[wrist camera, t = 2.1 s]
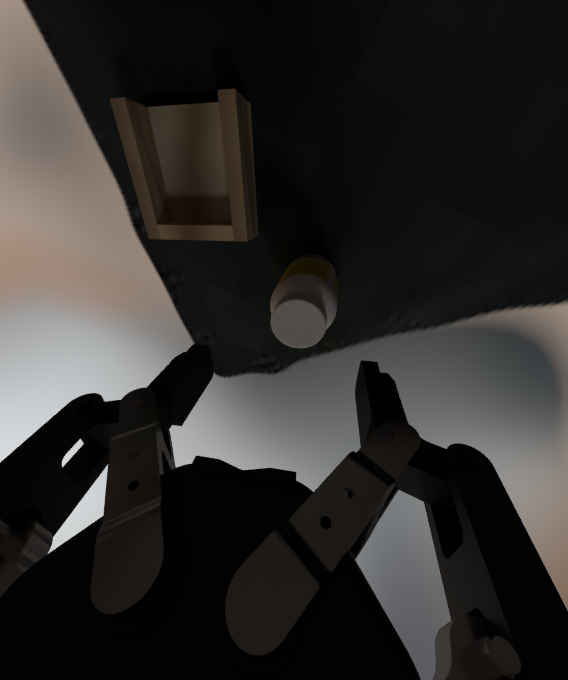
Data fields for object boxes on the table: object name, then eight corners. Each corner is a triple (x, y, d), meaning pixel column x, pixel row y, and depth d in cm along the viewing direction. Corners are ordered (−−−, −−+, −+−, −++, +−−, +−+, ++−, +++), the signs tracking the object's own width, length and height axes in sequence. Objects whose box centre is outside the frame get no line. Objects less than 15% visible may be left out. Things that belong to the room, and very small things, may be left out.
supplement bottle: (274, 272, 26) (245, 312, 17) (318, 241, 23) (309, 271, 15) (303, 313, 27) (289, 366, 19) (347, 288, 25) (352, 336, 17)
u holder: (250, 103, 19) (234, 88, 16) (258, 234, 24) (247, 241, 21) (142, 111, 20) (109, 98, 17) (170, 233, 25) (149, 238, 22)
